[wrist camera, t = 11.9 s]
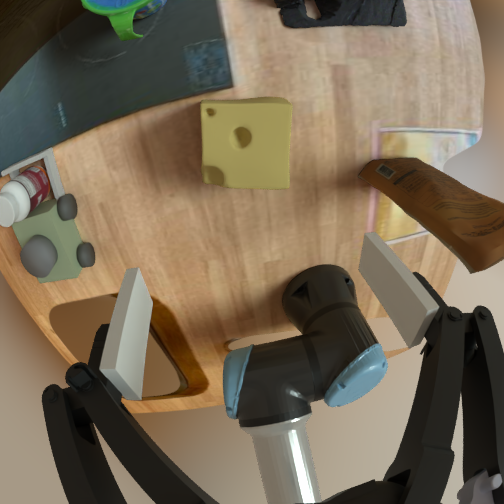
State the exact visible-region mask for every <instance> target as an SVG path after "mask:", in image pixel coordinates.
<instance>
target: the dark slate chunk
mask: <svg viewBox="0 0 504 504" xmlns="http://www.w3.org/2000/svg"><path fill="white" fill-rule="evenodd" d="M274 1H275V3H277V4H278V5H277V8H281V10H280V14H281V15H283V20H284V21H285V22H284V24H285V25H287V26H290V27H292V28H298V27H303V28H309V27H317V26H321V27H323V26H342V25H352V26H355V25H361V26H368V25H391V26H394V27H399V26H405V25H406V23H407V19H406V12H405V7H404V3H403V0H315V2H316V5H317V7H318V9H319V11H320V14H321V17H320V18H319V19H317V20H315V19H313V18H310V17H308V16H307V14H306V13H307V11H306V7H305V4H304V0H274ZM283 8H285V9H283Z"/></svg>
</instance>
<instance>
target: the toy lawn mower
mask: <svg viewBox="0 0 504 504" xmlns="http://www.w3.org/2000/svg"><path fill="white" fill-rule="evenodd" d="M42 158H44V162H45V166H46V169H47V173H48V176H49V179H50V183H51V186H52V189H53V192H54V195H55V198H54V199H51V200H48V201H45V202H42V203H40V204H39V205H38V206H37V207H36V208H35V209H34V210H33V211H32V212H31V213H30V214H29V215H28V216H27V217H26V218H25V219H24V220H22V221H20V222H14V223H13V224H12V227H13V230H14V232H15V234H16V237H17V239H18V241H19V243H20V246H21V248H22V250H21V253H20V257H21V262H22V264H23V266H24V267H25V269H26V270H27V271H28V272H29V273H30V274H32V275H33V276H35V277H37V279H38V281H39V282H40V283H46V282H52V281H59V280H65V279H72V278H78V276H79V274H80V272H81V270H82V268H85V267H91V266H93V265H94V263H95V252H94V248H93V246H92V245H91V244H90V243H84V244H83V242H82V240H81V237H80V235H79V232H78V230H77V227H76V224H75V222H74V218H75V217H76V215H77V203H76V200H75V198H74V196H73V195H72V194H67V195H65V192H64V189H63V186H62V183H61V179H60V176H59V172H58V169H57V165H56V162H55V158H54V154H53V150H52V147H51V148H49V149H46V150H44V151H42V152H39V153H37V154H35V155H32V156H30V157H28V158H26V159H24V160H21V161H19V162H17V163H15V164H13V165H12V166H10V167H8V168H7V169H5V170H4V171H2V172H1V174H2V177H3V176H5V175H7V174H10V178H11V180H12V179H13V178H15V177H16V176H18V175H19V174H20V172H19V168H22V167H24V166H26V165H28V164H31V163H33V162H35V161H38V160H40V159H42Z"/></svg>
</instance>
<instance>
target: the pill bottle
mask: <svg viewBox="0 0 504 504" xmlns="http://www.w3.org/2000/svg"><path fill="white" fill-rule="evenodd" d="M50 190H51V183H50V179H49V176H48V173H47V171H46V170H45V169H44V168H43V167H41V166H32V167H30V168H28V169H27V170H25V171H24V172H22V173H21V174H19V175H18V176H16V177H15V178H13V179H12V180H10V181H9V182H8V183H6V184H5V185H4V186H3V187H2V189H1V191H0V225H1V226H3V227H9V226H11V225H12V224H13V223H14V222H20V221H22V220H24V219H25V218H26V217H27V216H28V215H29V214H30V213H31V212H32V211H33V210H34V209H35V208H36V207H37V206H38V205H39V204H40V203H41V202H42V201H43V200H44V199H45V198H46V197H47V196H48V195H49V193H50Z"/></svg>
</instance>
